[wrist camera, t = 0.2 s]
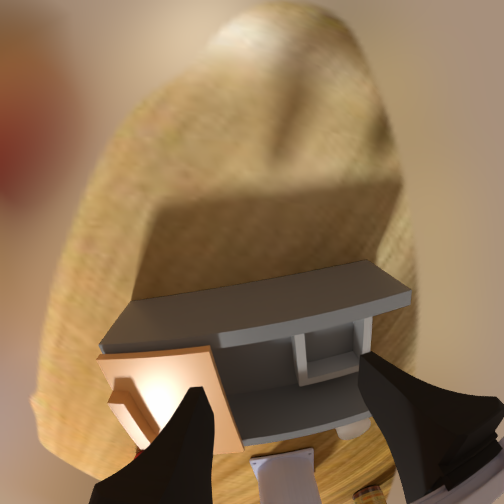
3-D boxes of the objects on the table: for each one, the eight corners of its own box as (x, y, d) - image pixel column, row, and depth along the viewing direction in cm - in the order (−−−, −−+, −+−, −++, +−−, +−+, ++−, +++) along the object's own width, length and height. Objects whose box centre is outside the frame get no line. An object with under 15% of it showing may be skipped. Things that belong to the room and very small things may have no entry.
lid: (244, 445, 16) (245, 464, 15) (157, 448, 16) (154, 465, 14) (209, 345, 14) (207, 366, 12) (99, 354, 14) (88, 371, 12)
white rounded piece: (352, 401, 25) (368, 433, 20) (324, 409, 24) (337, 443, 20) (354, 381, 24) (372, 414, 19) (324, 389, 24) (339, 425, 19)
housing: (363, 365, 23) (391, 409, 17) (171, 399, 23) (160, 449, 17) (367, 259, 20) (411, 290, 14) (130, 301, 20) (98, 344, 14)
